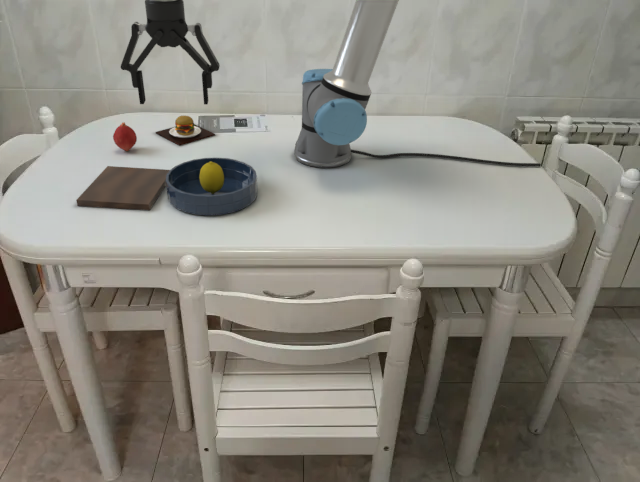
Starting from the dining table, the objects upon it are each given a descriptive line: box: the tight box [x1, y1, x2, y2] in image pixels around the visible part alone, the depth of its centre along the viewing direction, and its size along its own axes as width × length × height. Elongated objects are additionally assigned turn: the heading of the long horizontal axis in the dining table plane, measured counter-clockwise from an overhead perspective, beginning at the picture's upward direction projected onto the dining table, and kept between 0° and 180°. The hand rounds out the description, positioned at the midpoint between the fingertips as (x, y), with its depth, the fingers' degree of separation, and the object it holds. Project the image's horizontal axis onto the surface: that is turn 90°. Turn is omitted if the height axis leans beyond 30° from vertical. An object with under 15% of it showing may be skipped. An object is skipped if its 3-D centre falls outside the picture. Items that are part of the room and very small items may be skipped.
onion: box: [112, 121, 138, 152], centre depth 146 cm, size 6×6×8 cm
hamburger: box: [155, 115, 216, 147], centre depth 159 cm, size 12×12×6 cm
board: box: [75, 165, 171, 211], centre depth 129 cm, size 16×18×2 cm
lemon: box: [199, 161, 224, 194], centre depth 127 cm, size 6×6×8 cm
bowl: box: [165, 157, 258, 217], centre depth 128 cm, size 20×20×5 cm
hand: (174, 102), depth 122 cm, fingers open, 13 cm apart
